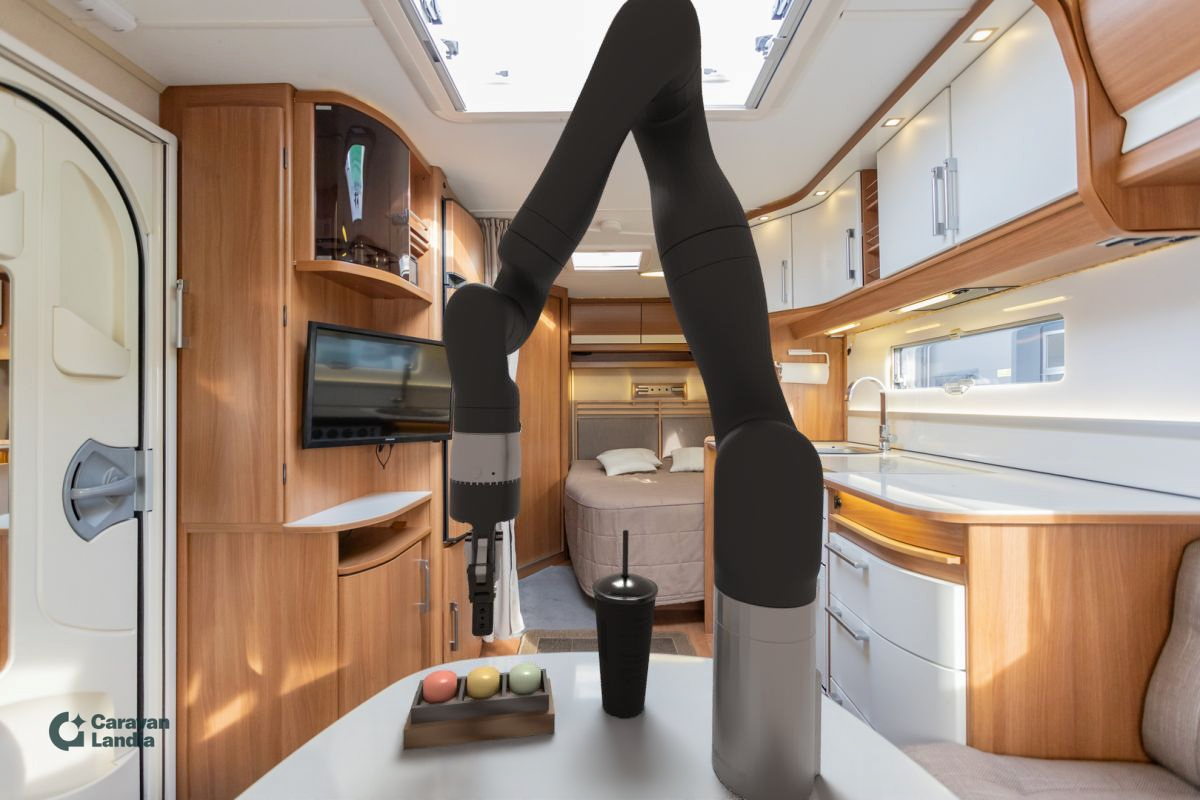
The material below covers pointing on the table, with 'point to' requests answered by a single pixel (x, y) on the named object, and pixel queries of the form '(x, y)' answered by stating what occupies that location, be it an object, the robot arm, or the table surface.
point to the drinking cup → (624, 637)
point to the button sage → (525, 679)
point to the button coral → (440, 687)
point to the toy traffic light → (479, 716)
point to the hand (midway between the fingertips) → (482, 632)
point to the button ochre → (483, 682)
